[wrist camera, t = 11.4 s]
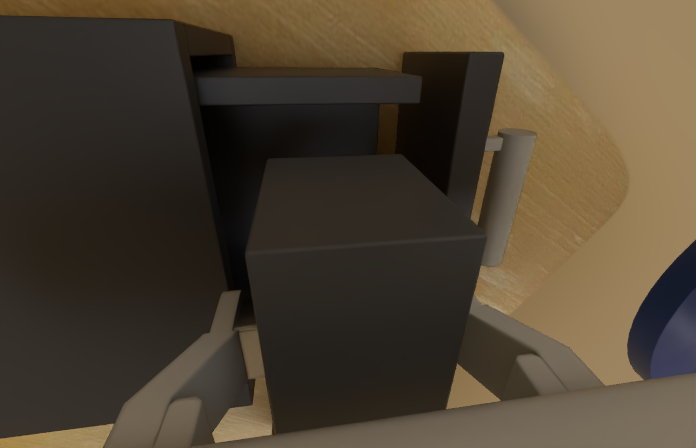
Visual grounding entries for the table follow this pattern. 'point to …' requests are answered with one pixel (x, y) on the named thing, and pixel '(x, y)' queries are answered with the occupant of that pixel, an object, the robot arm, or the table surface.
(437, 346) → the dark grey rectangular box
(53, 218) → the dark grey square case
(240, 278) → the drawer
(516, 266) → the table surface
